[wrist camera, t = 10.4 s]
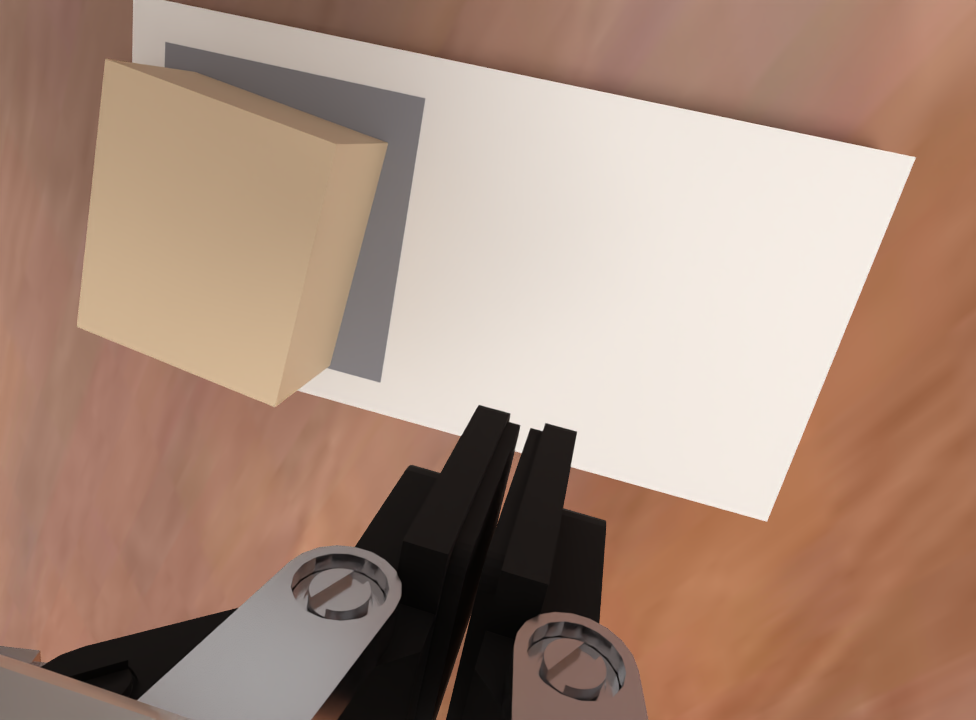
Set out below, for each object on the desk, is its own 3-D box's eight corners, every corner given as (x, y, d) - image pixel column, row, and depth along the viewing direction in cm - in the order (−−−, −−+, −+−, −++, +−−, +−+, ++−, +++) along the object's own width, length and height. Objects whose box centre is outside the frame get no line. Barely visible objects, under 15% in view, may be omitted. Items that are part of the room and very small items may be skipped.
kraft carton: (195, 71, 27) (105, 58, 23) (388, 143, 27) (336, 144, 22) (160, 298, 31) (76, 326, 26) (330, 365, 30) (275, 407, 26)
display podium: (180, 7, 30) (132, -7, 27) (885, 155, 26) (916, 157, 23) (168, 326, 35) (127, 343, 32) (754, 487, 31) (767, 521, 28)
